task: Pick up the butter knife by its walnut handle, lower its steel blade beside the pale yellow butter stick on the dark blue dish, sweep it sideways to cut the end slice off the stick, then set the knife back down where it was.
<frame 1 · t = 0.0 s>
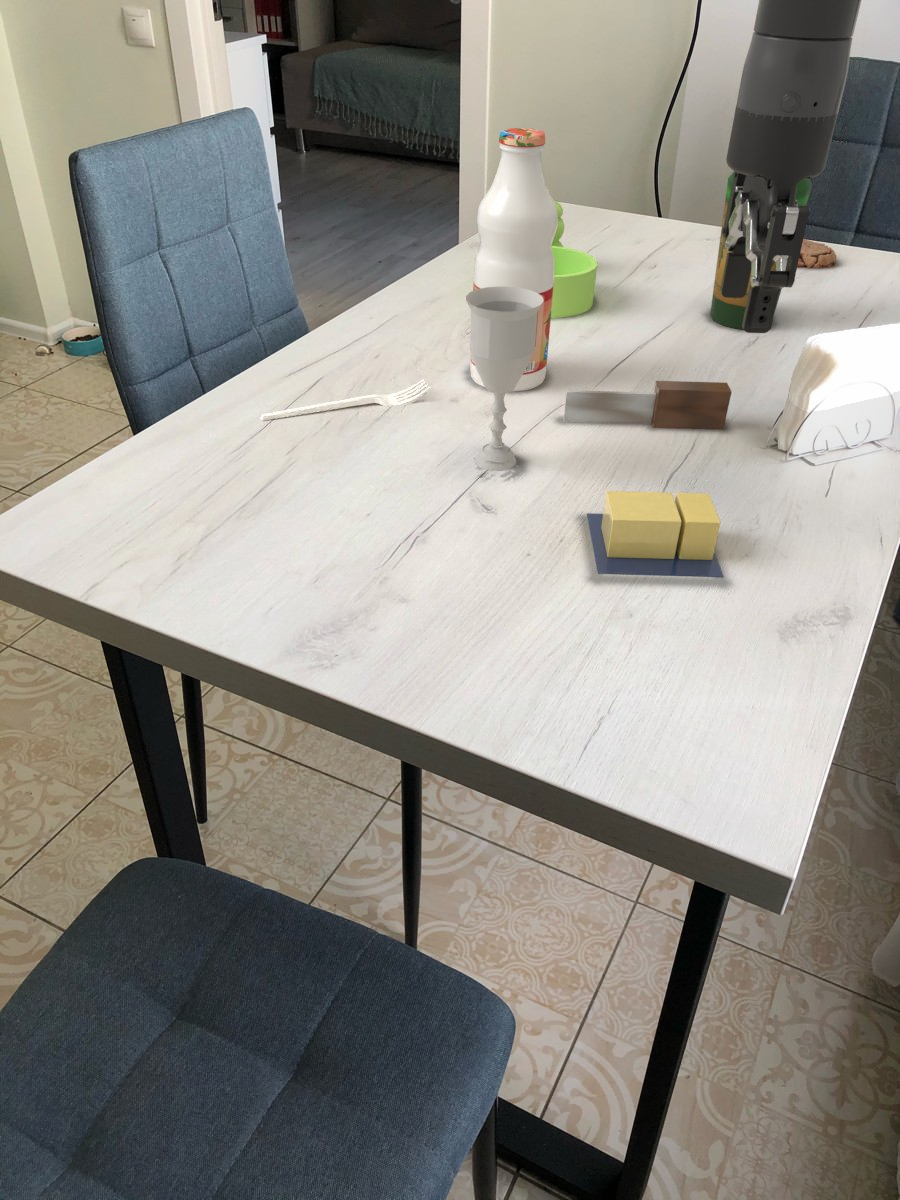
hand: (743, 313, 81), 20 cm above the table, tool pointing down, fingers open, 8 cm apart
chalice: (495, 470, 99), on the table
butter slice: (690, 544, 86), point 1 cm above the table, touching butter dish
cookie: (801, 262, 158), on the table
food container: (540, 291, 143), on the table
butter dish: (650, 552, 86), on the table
fork: (346, 411, 109), on the table
knife: (685, 426, 107), on the table
fruit juice: (507, 380, 117), on the table
bottle: (739, 323, 134), on the table
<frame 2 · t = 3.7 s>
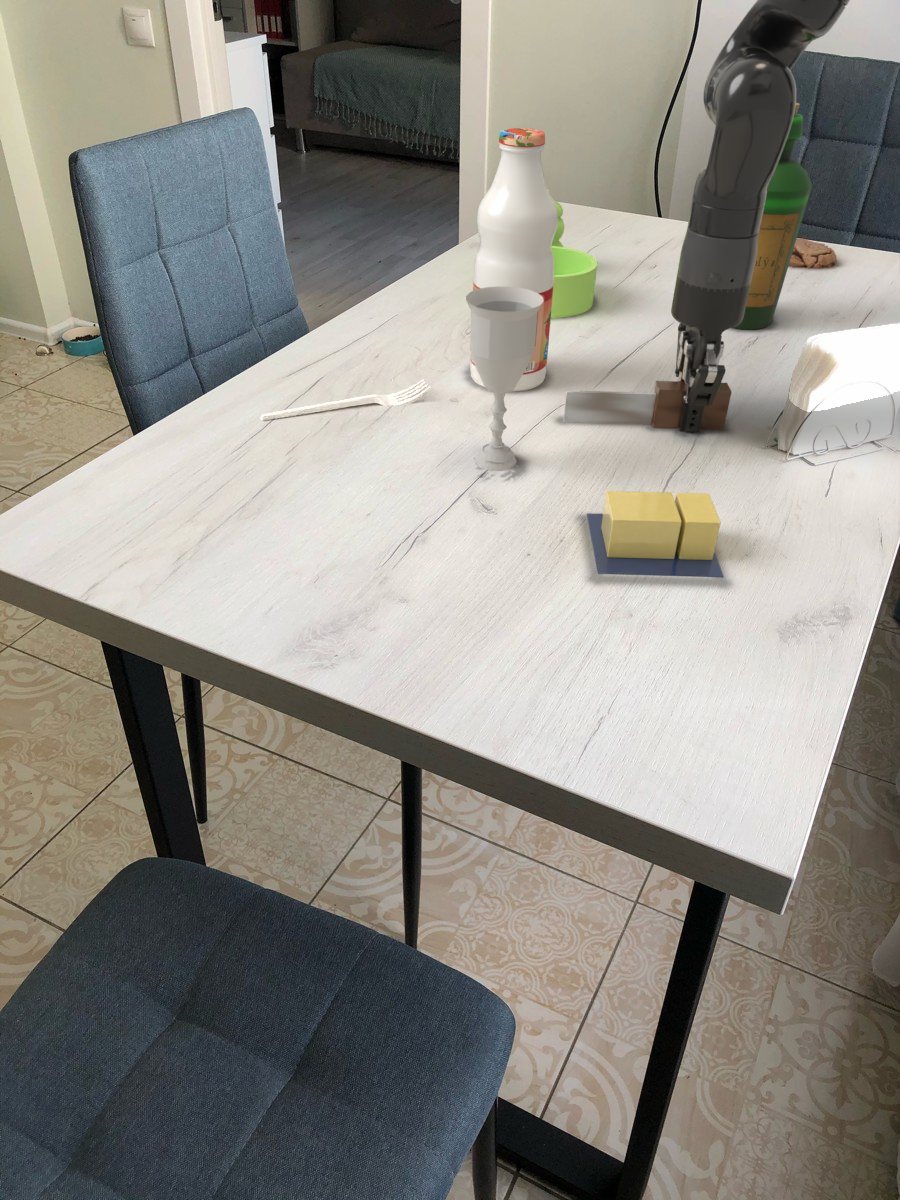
hand: (685, 426, 107), 0 cm above the table, tool pointing down, fingers closed on knife, 2 cm apart
knife: (685, 426, 107), on the table, touching gripper
everything else where it was.
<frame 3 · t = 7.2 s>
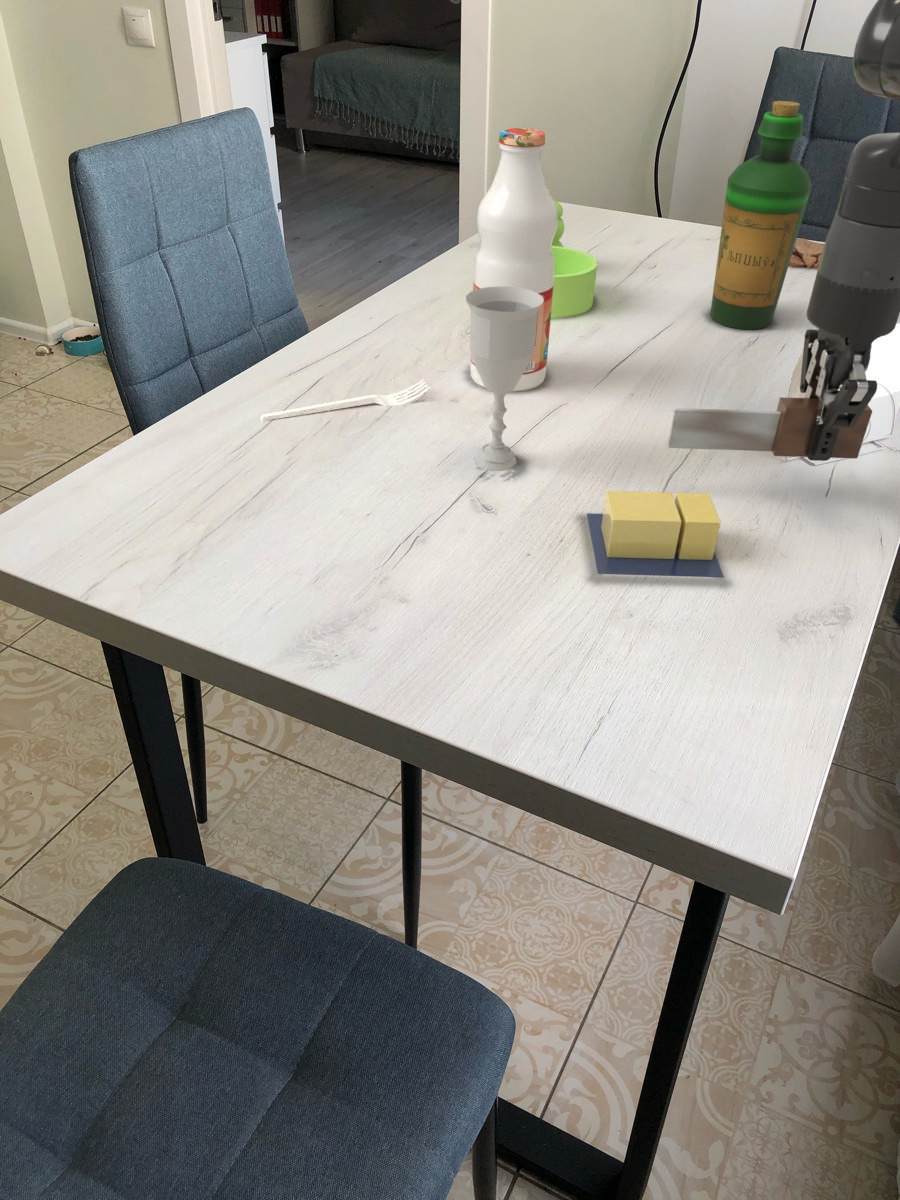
hand: (812, 450, 91), 6 cm above the table, tool pointing down, fingers closed on knife, 2 cm apart
knife: (812, 451, 91), point 6 cm above the table, touching gripper
everything else where it was.
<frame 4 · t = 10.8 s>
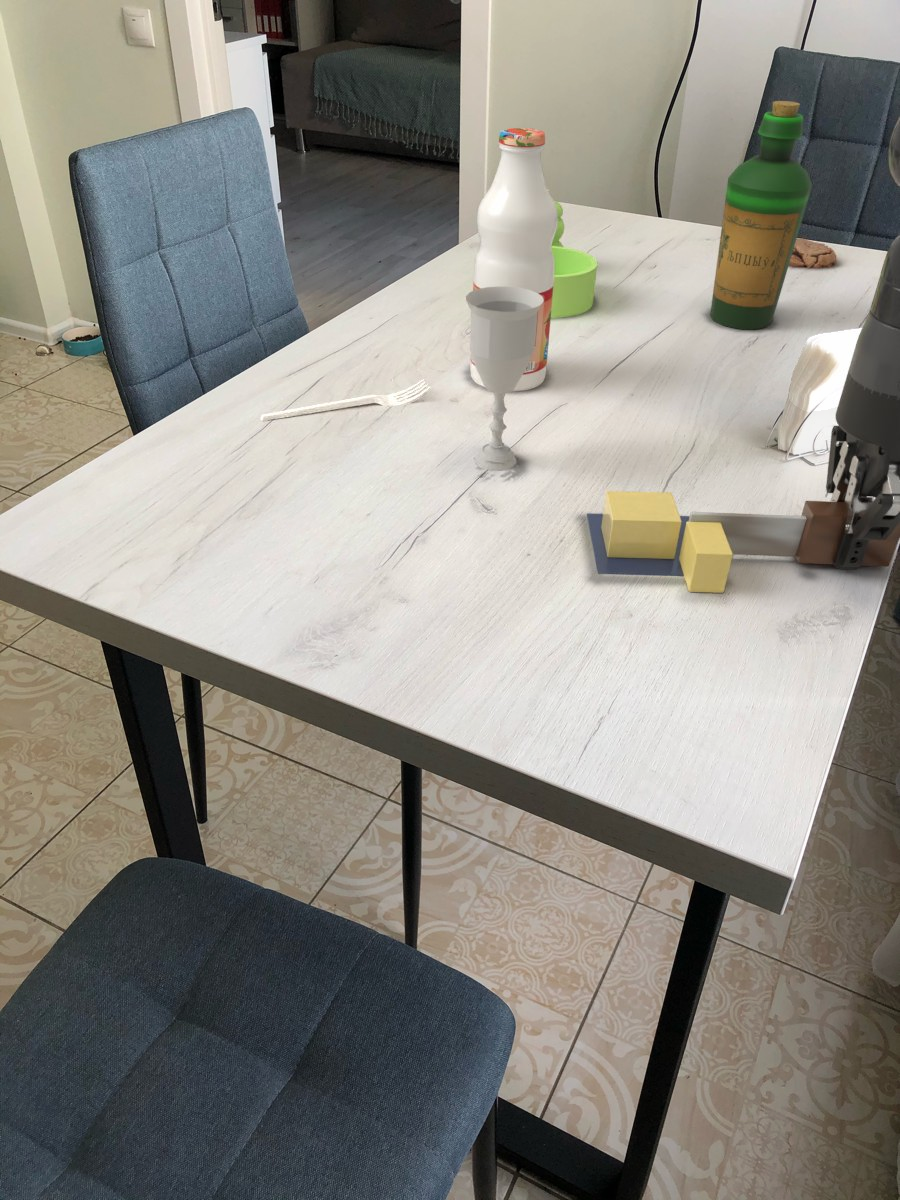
hand: (840, 556, 84), 2 cm above the table, tool pointing down, fingers closed on knife, 2 cm apart
butter slice: (700, 575, 82), point 1 cm above the table, touching knife
knife: (839, 557, 84), point 2 cm above the table, touching butter slice, gripper
everything else where it was.
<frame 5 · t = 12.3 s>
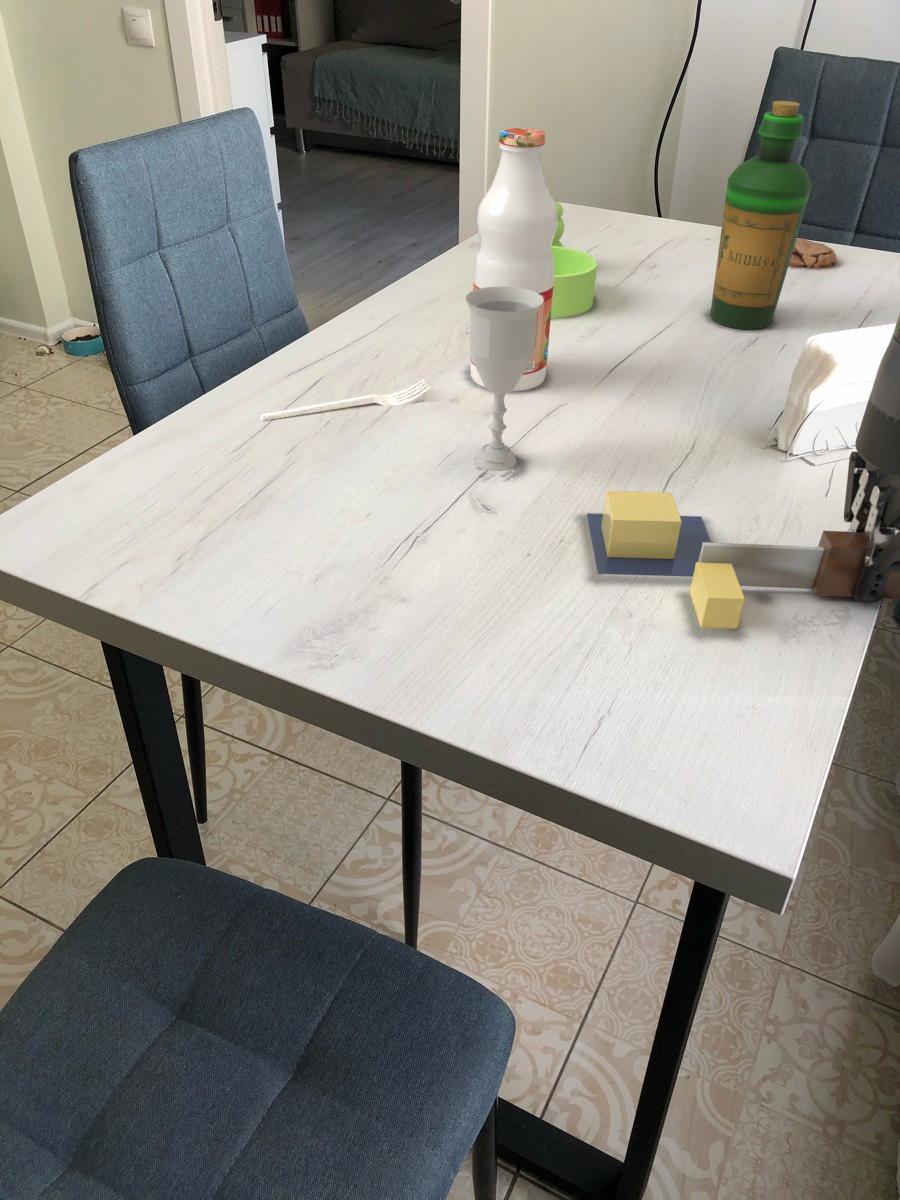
hand: (858, 588, 80), 2 cm above the table, tool pointing down, fingers closed on knife, 2 cm apart
butter slice: (710, 618, 79), on the table, touching knife
knife: (857, 589, 80), point 1 cm above the table, touching butter slice, gripper
everything else where it was.
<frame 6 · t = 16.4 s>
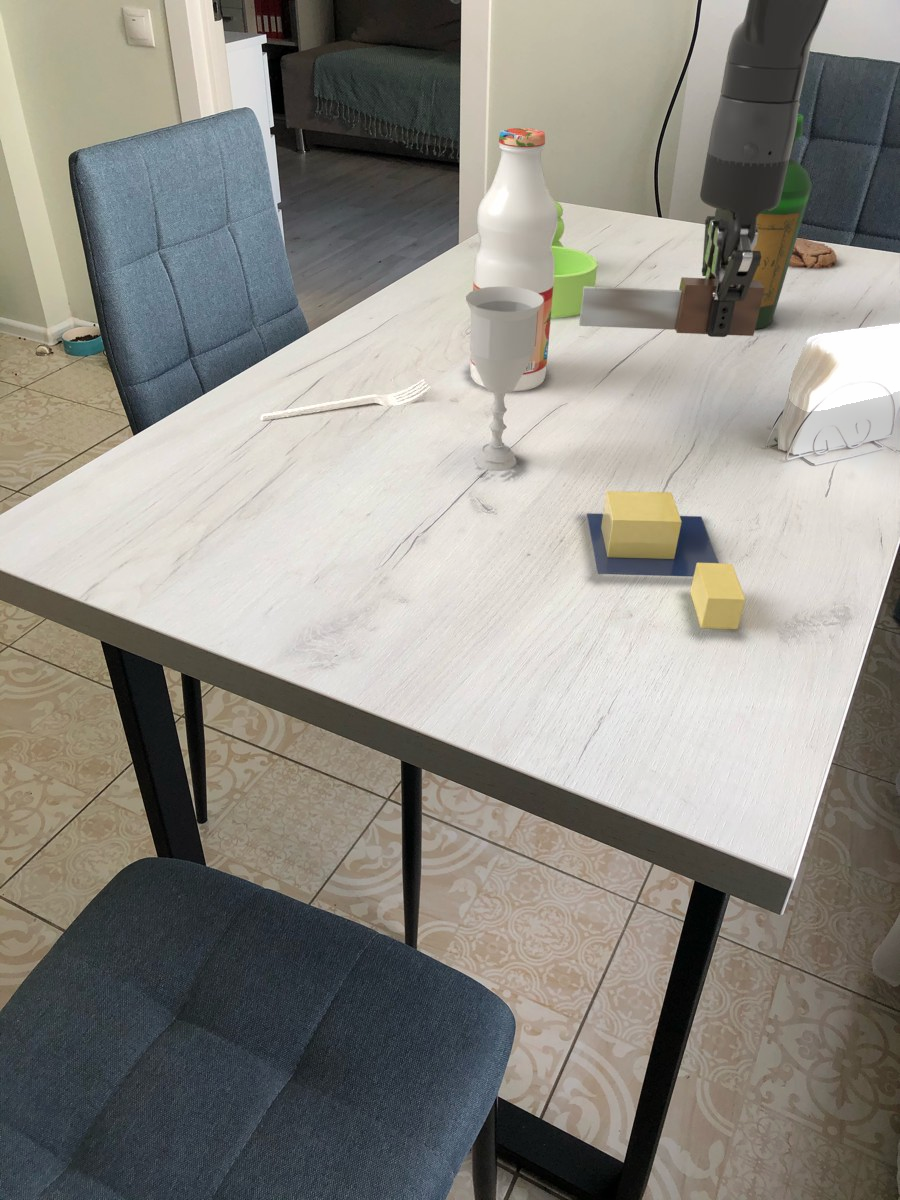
hand: (713, 329, 98), 12 cm above the table, tool pointing down, fingers closed on knife, 2 cm apart
butter slice: (711, 618, 79), on the table
knife: (712, 330, 98), point 12 cm above the table, touching gripper
everything else where it was.
when the fingers open (0 cm above the table, at t = 19.4 s): knife stays where it is, on the table.
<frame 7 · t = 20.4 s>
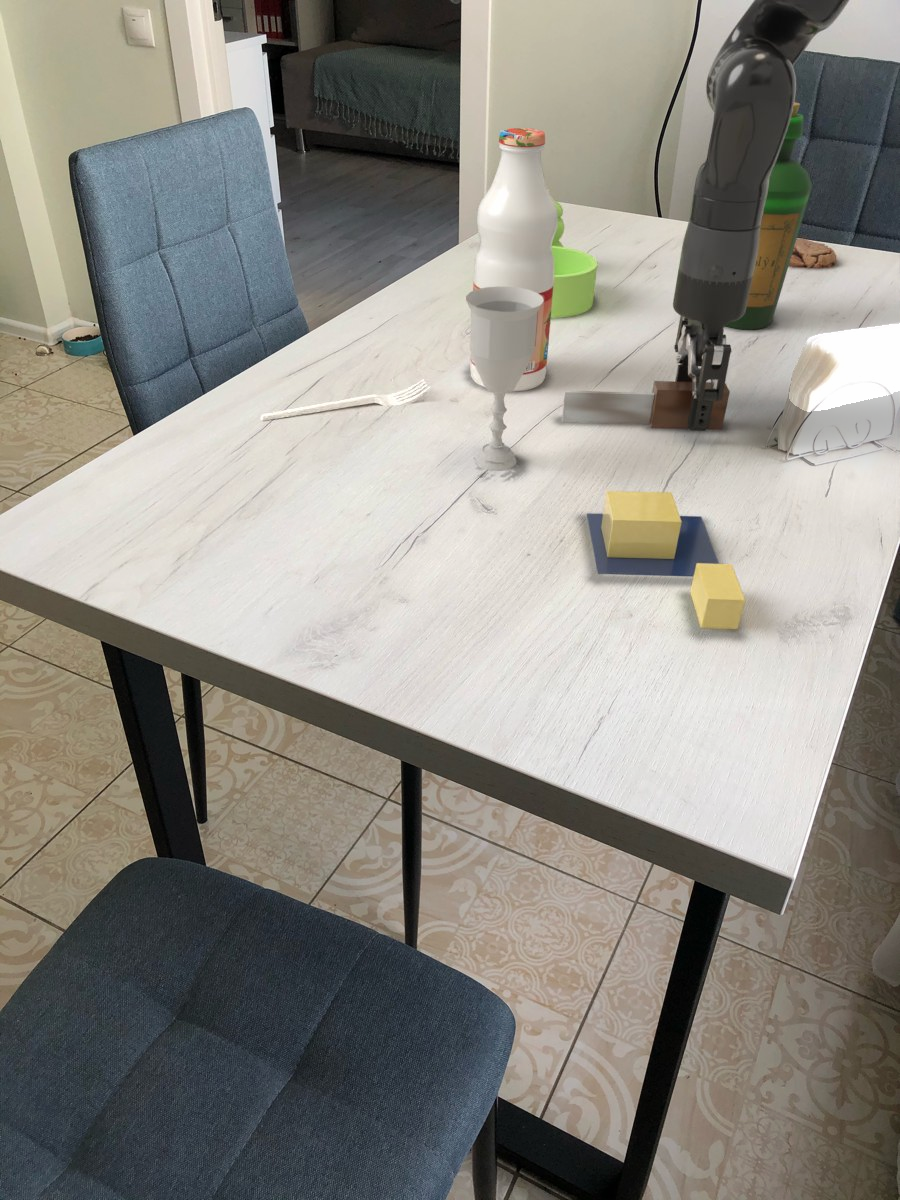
hand: (689, 412, 106), 2 cm above the table, tool pointing down, fingers open, 8 cm apart
knife: (684, 427, 107), on the table
everything else where it was.
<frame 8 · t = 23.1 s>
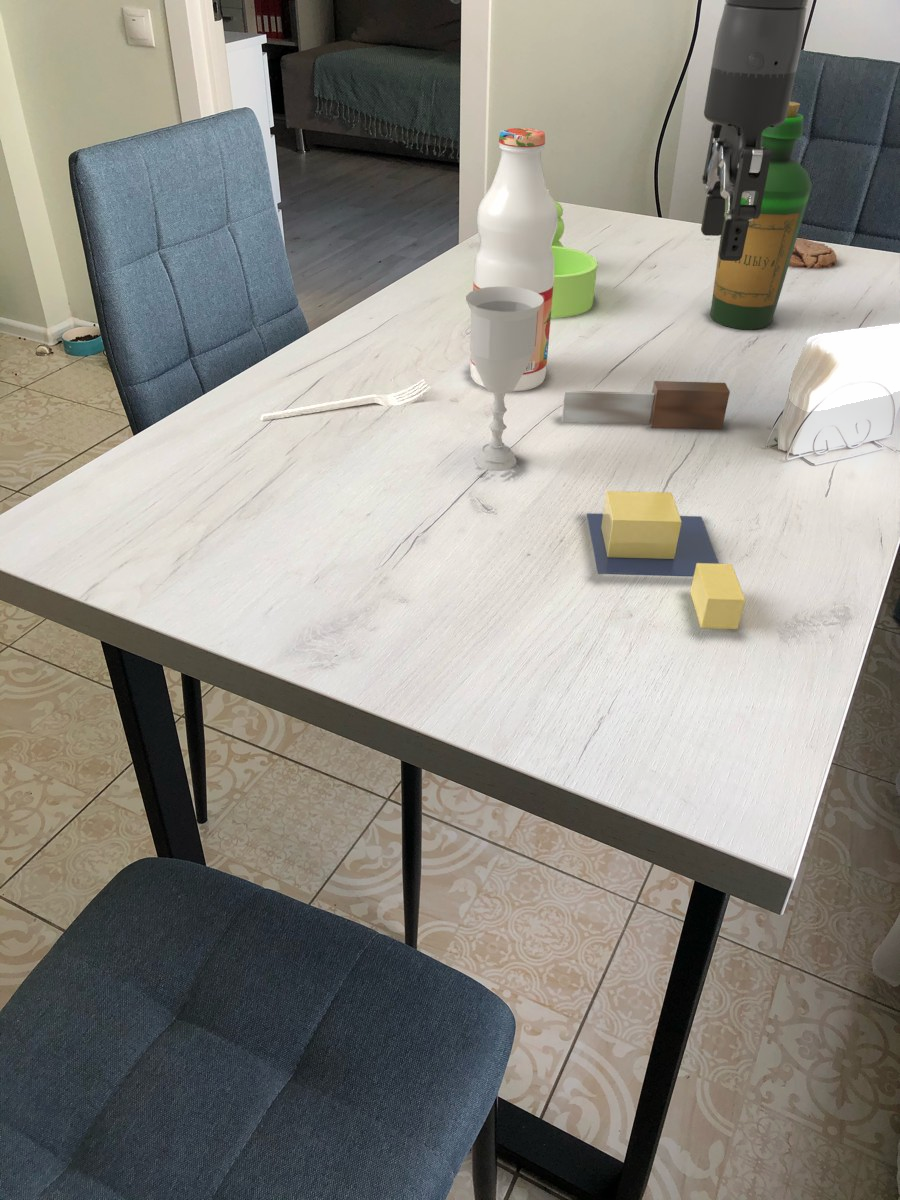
hand: (719, 246, 95), 20 cm above the table, tool pointing down, fingers open, 8 cm apart
nothing on the table moved.
at the end: butter slice moved 9.8 cm from its start; butter slice inside the target area on the table beside the butter dish (0.5 cm from its centre), on the table; knife inside the target area (0.2 cm from its centre), on the table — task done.
